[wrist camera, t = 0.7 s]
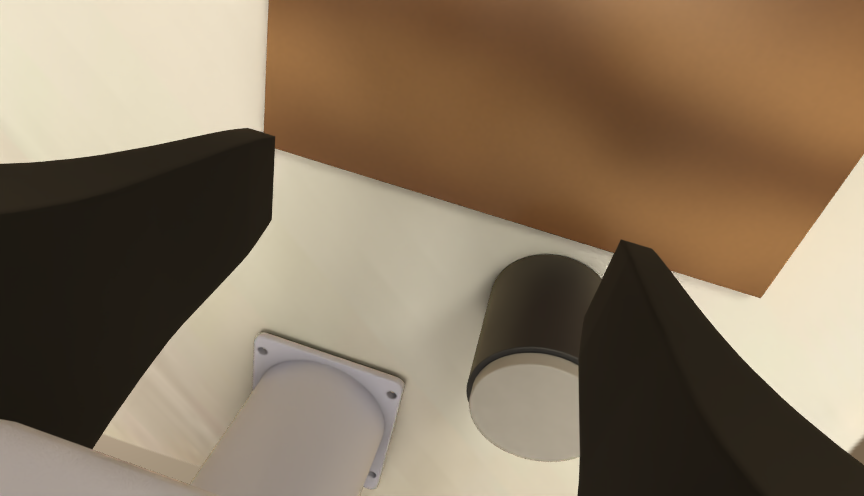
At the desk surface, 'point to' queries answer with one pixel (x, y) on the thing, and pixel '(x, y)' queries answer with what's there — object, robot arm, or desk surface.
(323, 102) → the brown wooden board
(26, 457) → the robot arm
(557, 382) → the thermos cap
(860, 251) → the desk surface
